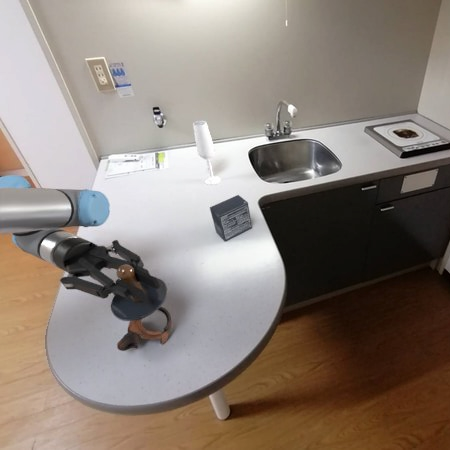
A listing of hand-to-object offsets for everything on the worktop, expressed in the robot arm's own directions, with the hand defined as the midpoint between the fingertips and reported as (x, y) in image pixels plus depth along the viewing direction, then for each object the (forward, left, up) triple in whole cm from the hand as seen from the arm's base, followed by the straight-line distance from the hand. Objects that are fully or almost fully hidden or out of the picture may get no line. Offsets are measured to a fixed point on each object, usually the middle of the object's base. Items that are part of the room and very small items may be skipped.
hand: (150, 289), depth 59 cm
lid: (-2, +5, -6) cm, 8 cm away
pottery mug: (-5, +5, -19) cm, 20 cm away
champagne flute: (+37, +59, -19) cm, 73 cm away
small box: (+29, +26, -19) cm, 44 cm away
